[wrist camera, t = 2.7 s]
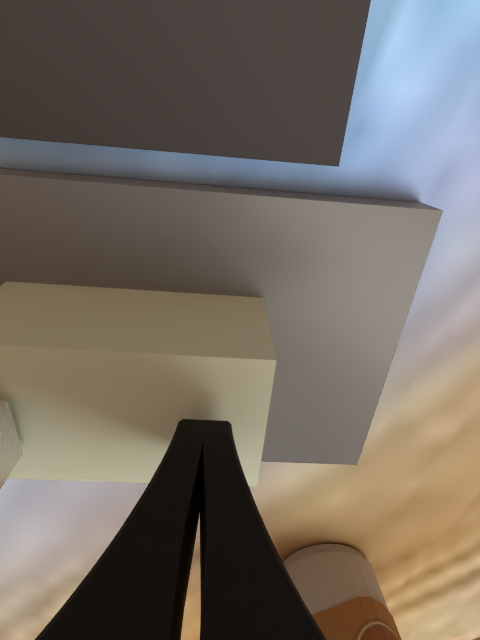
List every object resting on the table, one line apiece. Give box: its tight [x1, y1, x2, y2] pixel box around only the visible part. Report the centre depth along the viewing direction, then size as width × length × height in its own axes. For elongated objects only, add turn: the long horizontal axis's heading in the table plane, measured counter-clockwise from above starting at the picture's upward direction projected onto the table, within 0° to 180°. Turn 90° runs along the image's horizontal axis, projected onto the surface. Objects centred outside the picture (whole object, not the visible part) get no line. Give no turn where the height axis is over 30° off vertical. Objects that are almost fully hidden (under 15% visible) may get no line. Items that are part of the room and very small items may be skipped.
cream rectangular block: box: [0, 281, 277, 486], centre depth 12 cm, size 5×9×4 cm, turn 85°
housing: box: [0, 168, 443, 465], centre depth 13 cm, size 12×22×6 cm, turn 85°
